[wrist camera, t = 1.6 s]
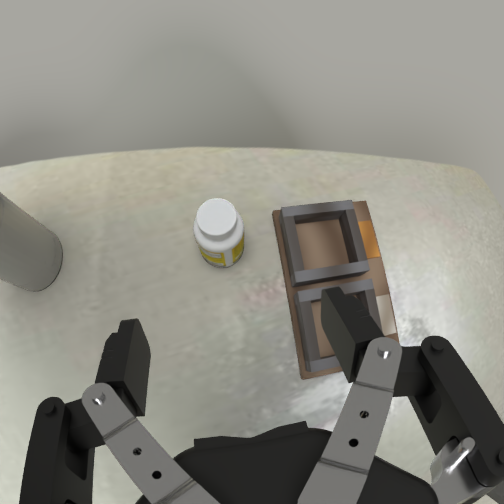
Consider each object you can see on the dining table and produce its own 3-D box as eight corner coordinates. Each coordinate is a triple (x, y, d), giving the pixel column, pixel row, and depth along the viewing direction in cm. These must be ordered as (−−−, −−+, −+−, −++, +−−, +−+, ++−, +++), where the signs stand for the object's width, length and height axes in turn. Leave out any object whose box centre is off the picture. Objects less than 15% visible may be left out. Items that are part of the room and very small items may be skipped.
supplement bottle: (235, 221, 41) (234, 185, 32) (249, 260, 40) (252, 232, 31) (195, 234, 41) (183, 200, 31) (207, 274, 39) (198, 250, 30)
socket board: (301, 378, 36) (308, 382, 32) (272, 214, 42) (275, 200, 38) (397, 354, 37) (412, 354, 33) (362, 204, 43) (373, 190, 39)
